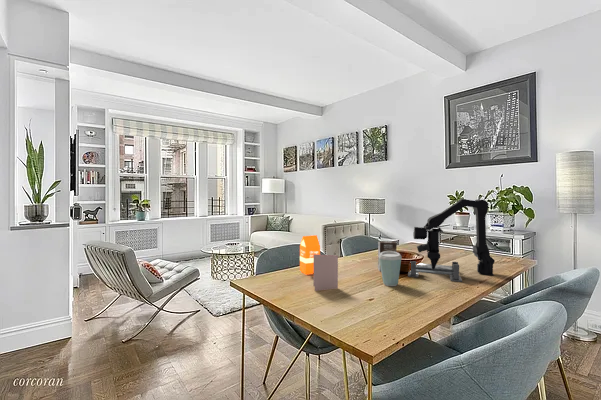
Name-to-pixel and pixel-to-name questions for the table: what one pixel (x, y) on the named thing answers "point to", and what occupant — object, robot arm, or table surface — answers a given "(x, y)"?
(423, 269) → the grey plate
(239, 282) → the table surface
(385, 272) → the disposable coffee cup
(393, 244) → the coffee box
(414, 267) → the dark grey notched cradle
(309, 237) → the orange juice
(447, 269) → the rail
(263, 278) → the table surface
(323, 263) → the greeting card
